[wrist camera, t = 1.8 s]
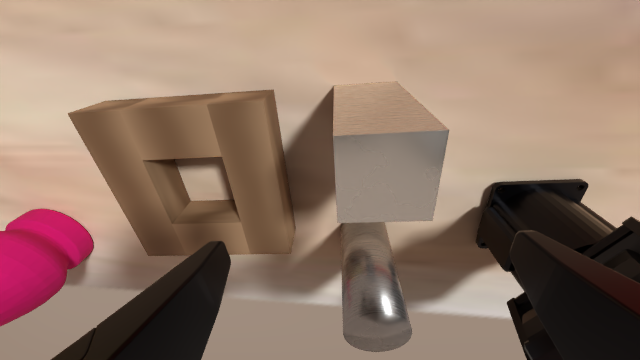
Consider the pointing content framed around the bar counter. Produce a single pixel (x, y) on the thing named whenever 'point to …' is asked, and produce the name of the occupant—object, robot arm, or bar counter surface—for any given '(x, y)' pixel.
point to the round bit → (371, 289)
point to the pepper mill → (37, 259)
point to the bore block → (194, 142)
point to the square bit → (385, 154)
